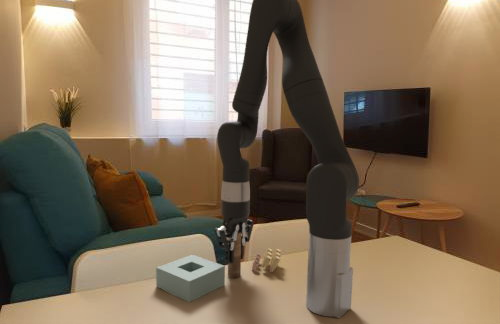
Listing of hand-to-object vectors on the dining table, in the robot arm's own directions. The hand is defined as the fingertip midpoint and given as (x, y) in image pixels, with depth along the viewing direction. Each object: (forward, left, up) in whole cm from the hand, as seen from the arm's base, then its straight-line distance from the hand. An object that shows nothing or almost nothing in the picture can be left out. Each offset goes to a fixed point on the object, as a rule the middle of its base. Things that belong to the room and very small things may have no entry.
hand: (234, 260), depth 101 cm
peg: (0, 0, -4) cm, 4 cm away
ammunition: (-3, -10, -5) cm, 12 cm away
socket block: (+4, +12, -4) cm, 13 cm away
